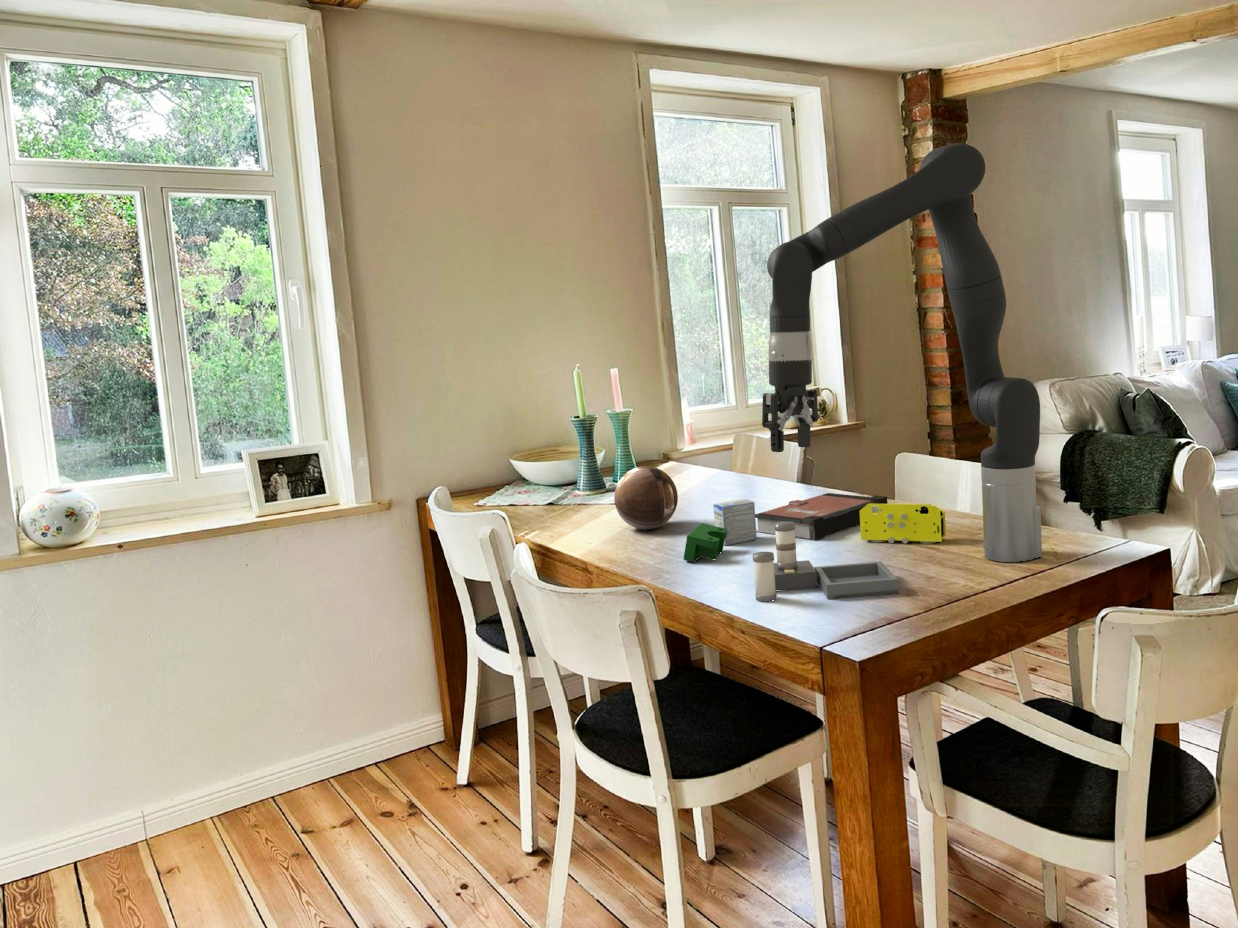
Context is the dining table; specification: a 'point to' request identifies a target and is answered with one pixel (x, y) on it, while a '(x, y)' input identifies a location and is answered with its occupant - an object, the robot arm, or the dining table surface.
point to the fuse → (764, 576)
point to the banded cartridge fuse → (785, 545)
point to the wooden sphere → (646, 497)
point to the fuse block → (796, 577)
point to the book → (818, 515)
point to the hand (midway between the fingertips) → (791, 449)
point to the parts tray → (856, 580)
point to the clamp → (704, 542)
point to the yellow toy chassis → (902, 523)
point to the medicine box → (736, 520)
